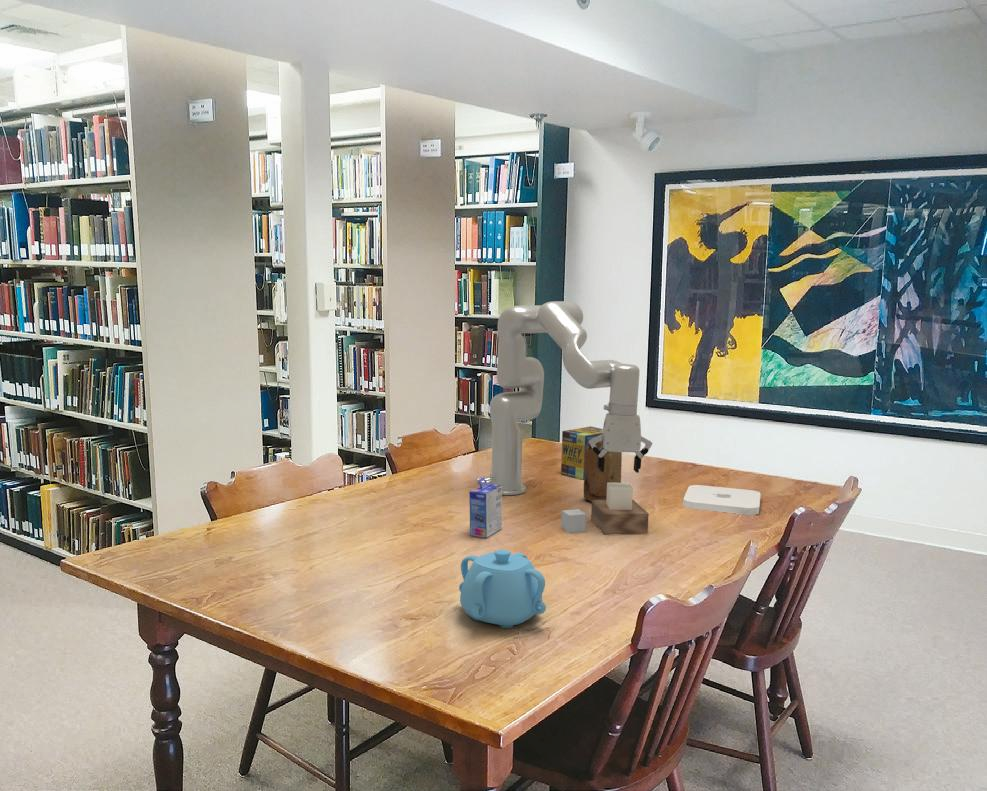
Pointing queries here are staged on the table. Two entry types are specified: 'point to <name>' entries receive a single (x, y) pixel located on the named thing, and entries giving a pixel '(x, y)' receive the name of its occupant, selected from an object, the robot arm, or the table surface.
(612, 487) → the cream block
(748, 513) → the computer
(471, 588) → the decorative pot
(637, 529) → the walnut block
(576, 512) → the grey block
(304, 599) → the table surface
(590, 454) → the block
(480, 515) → the ink cartridge box
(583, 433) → the protein box
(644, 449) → the robot arm
